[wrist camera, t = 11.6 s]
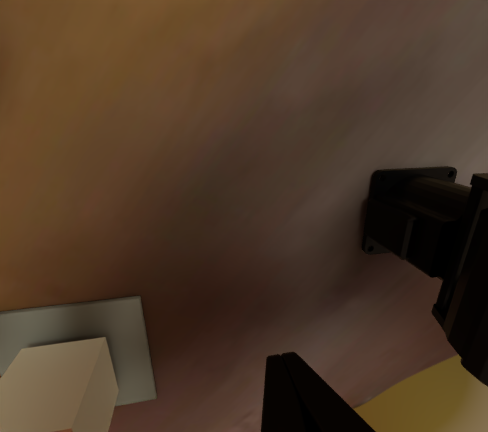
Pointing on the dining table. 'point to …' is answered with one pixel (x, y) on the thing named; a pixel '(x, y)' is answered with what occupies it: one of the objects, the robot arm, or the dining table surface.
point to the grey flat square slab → (88, 327)
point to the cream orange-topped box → (59, 389)
